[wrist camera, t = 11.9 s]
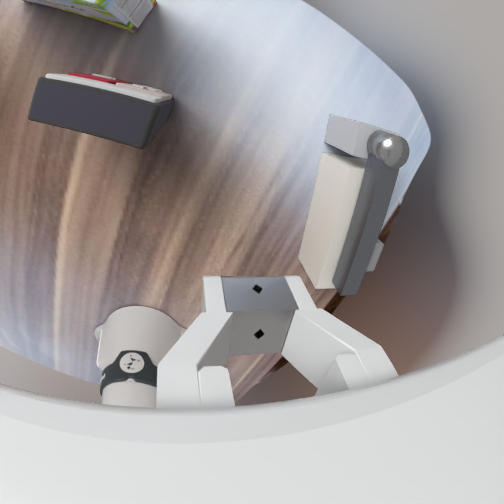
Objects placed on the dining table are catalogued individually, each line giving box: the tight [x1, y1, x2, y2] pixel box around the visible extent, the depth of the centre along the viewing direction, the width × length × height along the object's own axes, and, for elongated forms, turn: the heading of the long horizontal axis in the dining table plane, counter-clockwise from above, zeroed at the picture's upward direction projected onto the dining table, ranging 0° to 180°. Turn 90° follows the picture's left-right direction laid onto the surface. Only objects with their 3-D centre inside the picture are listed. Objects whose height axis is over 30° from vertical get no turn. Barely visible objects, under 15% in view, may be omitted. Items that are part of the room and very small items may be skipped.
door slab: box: [298, 152, 384, 289], centre depth 37 cm, size 17×6×11 cm, turn 172°
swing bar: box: [332, 130, 409, 295], centre depth 32 cm, size 21×4×3 cm, turn 172°
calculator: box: [28, 72, 175, 149], centre depth 22 cm, size 11×4×15 cm, turn 65°
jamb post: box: [324, 114, 400, 159], centre depth 32 cm, size 4×6×8 cm, turn 82°
